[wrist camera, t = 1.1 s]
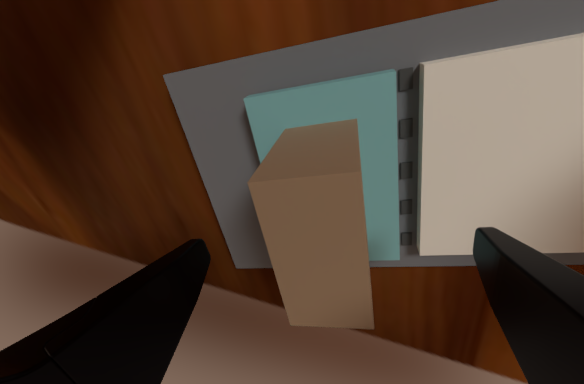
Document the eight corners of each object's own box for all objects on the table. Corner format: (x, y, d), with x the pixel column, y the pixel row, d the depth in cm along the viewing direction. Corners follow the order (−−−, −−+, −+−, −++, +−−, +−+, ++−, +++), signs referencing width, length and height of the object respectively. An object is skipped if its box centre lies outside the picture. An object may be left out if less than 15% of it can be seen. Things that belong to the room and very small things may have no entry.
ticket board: (812, -69, 8) (933, -96, 7) (651, 246, 14) (694, 276, 12) (176, 71, 14) (152, 77, 12) (242, 255, 19) (231, 277, 18)
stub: (393, 68, 11) (429, 98, 6) (397, 249, 15) (420, 358, 10) (249, 95, 12) (179, 136, 7) (289, 252, 16) (261, 347, 11)
